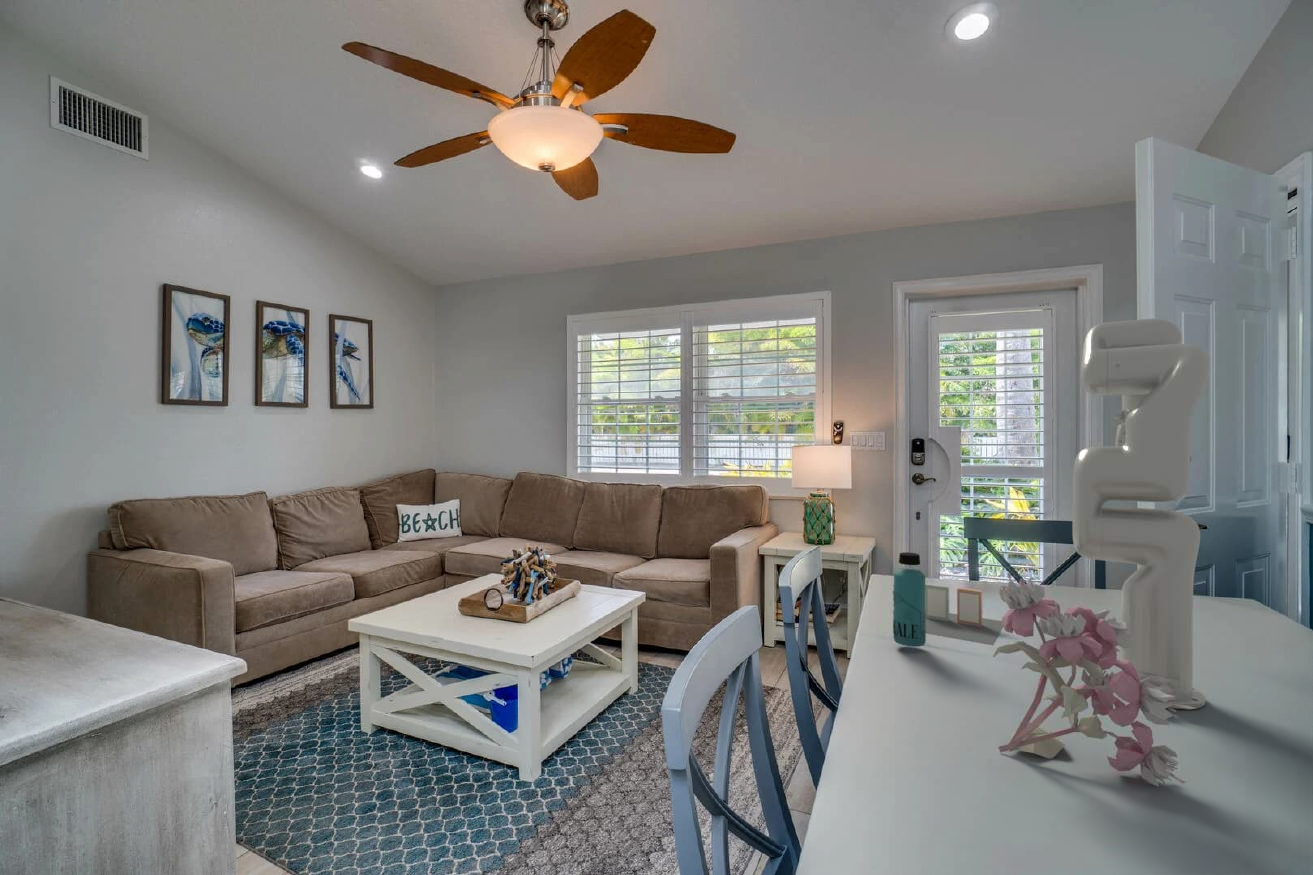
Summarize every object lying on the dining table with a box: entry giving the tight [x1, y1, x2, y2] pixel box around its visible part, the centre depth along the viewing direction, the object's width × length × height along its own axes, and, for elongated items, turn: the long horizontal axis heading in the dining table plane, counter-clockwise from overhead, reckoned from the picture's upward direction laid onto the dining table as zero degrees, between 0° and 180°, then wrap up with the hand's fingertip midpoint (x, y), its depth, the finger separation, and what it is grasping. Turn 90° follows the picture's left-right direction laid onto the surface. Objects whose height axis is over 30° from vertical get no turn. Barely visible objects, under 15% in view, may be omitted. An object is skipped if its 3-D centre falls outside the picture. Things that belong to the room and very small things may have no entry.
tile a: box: [956, 587, 983, 627], centre depth 144 cm, size 2×5×8 cm, turn 54°
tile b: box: [925, 583, 950, 621], centre depth 148 cm, size 2×5×8 cm, turn 54°
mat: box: [925, 612, 1004, 646], centre depth 143 cm, size 20×20×1 cm
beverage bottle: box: [892, 551, 927, 648], centre depth 129 cm, size 6×7×20 cm
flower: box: [992, 572, 1197, 787], centre depth 83 cm, size 20×22×25 cm
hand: (1142, 492), depth 142 cm, fingers open, 9 cm apart
